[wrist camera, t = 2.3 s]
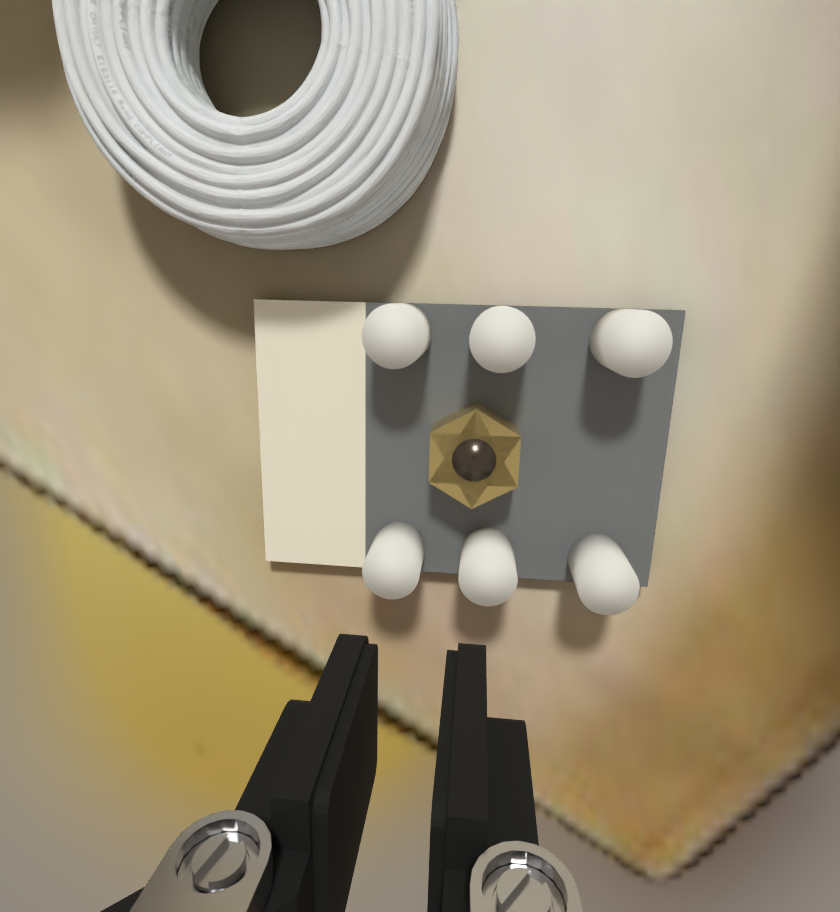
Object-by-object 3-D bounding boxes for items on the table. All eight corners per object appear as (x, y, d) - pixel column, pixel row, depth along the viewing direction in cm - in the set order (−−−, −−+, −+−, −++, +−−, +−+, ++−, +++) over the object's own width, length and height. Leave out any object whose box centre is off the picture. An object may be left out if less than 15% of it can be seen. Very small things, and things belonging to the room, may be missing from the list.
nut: (519, 402, 31) (523, 411, 28) (513, 495, 32) (516, 512, 29) (434, 398, 31) (430, 407, 29) (431, 491, 32) (427, 507, 30)
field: (678, 310, 30) (712, 311, 25) (642, 578, 33) (666, 619, 29) (260, 299, 32) (225, 298, 27) (271, 553, 35) (242, 588, 31)
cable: (150, -198, 27) (57, -338, 21) (512, -84, 26) (521, -193, 21) (94, 196, 31) (6, 172, 26) (400, 297, 31) (382, 296, 25)
